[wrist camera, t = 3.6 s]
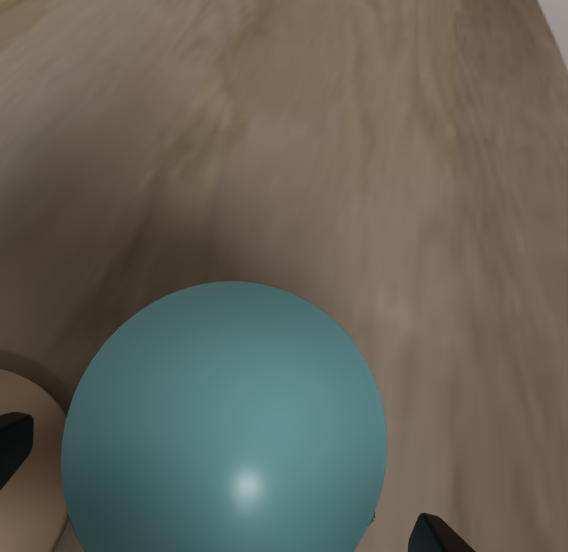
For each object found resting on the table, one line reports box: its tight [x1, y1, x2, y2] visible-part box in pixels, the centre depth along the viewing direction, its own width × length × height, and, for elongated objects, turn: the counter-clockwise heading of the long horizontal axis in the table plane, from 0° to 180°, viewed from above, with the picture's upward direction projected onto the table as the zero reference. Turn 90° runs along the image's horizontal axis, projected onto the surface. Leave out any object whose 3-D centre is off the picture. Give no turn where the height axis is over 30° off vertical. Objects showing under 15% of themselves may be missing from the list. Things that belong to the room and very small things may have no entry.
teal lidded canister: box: [61, 281, 387, 552], centre depth 13 cm, size 6×6×12 cm
